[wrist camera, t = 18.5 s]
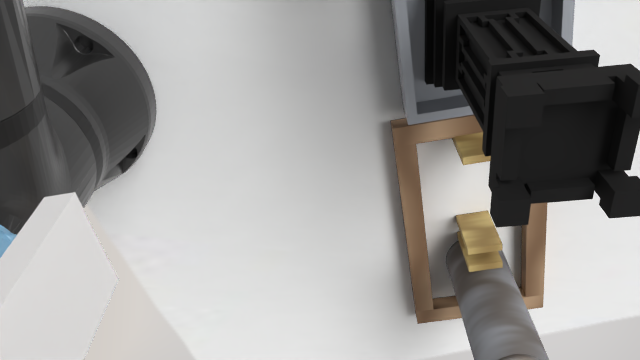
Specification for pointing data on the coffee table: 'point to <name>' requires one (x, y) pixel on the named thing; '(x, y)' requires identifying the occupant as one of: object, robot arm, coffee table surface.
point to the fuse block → (472, 254)
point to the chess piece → (537, 106)
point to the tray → (410, 44)
